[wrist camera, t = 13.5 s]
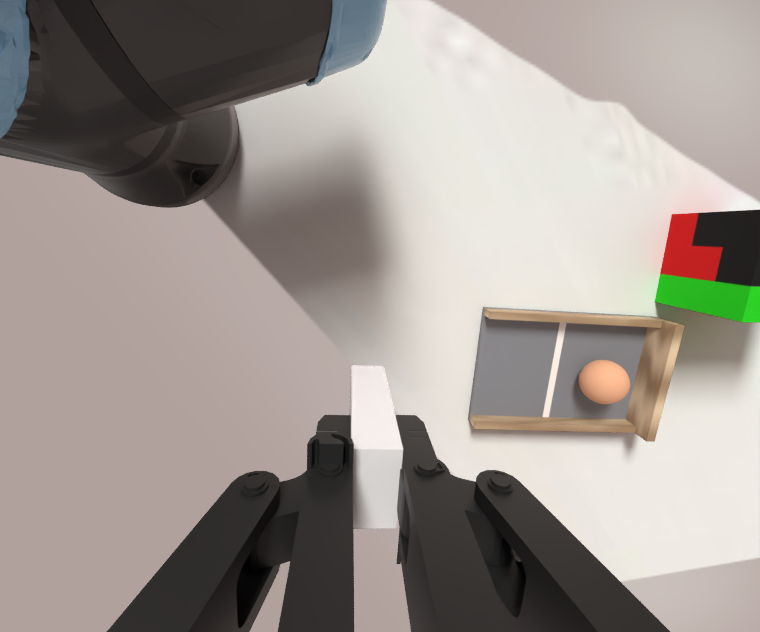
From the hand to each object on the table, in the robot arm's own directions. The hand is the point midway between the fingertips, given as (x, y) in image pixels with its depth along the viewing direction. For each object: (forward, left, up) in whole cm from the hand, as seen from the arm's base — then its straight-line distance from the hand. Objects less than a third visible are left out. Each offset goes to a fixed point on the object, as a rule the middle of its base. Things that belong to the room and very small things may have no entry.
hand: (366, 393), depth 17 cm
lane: (+7, +25, -24) cm, 35 cm away
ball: (+7, +28, -21) cm, 36 cm away
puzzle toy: (-7, +40, -25) cm, 47 cm away
